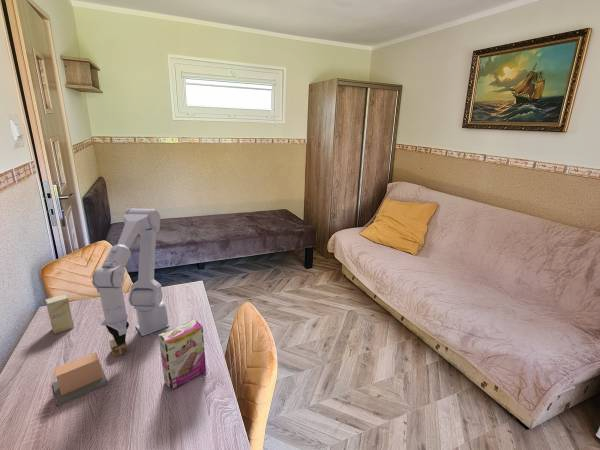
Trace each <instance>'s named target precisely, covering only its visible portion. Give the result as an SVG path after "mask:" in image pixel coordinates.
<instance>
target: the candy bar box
mask: <svg viewBox="0 0 600 450" xmlns="http://www.w3.org/2000/svg"><path fill="white" fill-rule="evenodd" d="M203 327H204V326H203V325H202V324H201V323H199V322H198V321H197V320H196V319H193V320H191V321H188V322H186V323H184V324H182V325H181V324H180V325H179V326H177V327H173V328H171V329H169V330H166V331H164V332H162V333H159V334H158V341H159V348H160V349H159V351H160V357H161V365H162V367H161V368H162V373H163V380H164V383H165V384H166V386H167V387H168V388H169V390H170V392H171V391H174V390H175V389H177V388H179V387H180V386H183V385H184V384H185V383H188V382H190V381H191V380H193V379H195V378H197V377H198V376H200V375H202V374H204V373H206V372H207V368H206V367H207V365H206V355H205V341H204V340H205V339H204V328H203Z"/></svg>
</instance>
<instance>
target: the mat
mask: <svg viewBox="0 0 600 450" xmlns="http://www.w3.org/2000/svg"><path fill="white" fill-rule="evenodd" d="M100 367H101V371H102V376H103V378H101V379H99V380H96V381H94V382H92V383H89V384H87V385H85V386H83V387H80V388H78V389H76V390H73V391H71V392H69V393H66V394H64V395H62V396H61V392H60V389H59V385H58V381H57V380H56V381H54V382H52V386H53V391H54V397H55V401H56V407H60V406H62V405H64V404H66V403H68V402H71V401H73V400H75V399H78V398H80V397H82V396H84V395H86V394H89V393H92V392H93V391H95V390H98V389H101V388H102V387H105V386H107V385H109V381H108V378H107V377H106V374H105V371H104V369H103V367H102V364H101V363H100Z"/></svg>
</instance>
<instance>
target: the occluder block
mask: <svg viewBox="0 0 600 450" xmlns="http://www.w3.org/2000/svg"><path fill="white" fill-rule="evenodd" d="M100 364H101V363H100V358H99V355H98V353H97V351H96V352H93V353H91V354H87V355H85V356H82V357H79V358H77V359H74V360H72V361H70V362H67V363H64V364H62V365H58V366H57V367H54V373H55V378H56V382H57V381H58V385H59V389H60V392H61V396H62V395H64V394H66V393H69V392H71V391H73V390H76V389H78V388H80V387H83V386H85V385H87V384H89V383H92V382H94V381H96V380H99V379H101V378H103V376H102V371H101V367H100Z"/></svg>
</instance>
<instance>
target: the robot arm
mask: <svg viewBox="0 0 600 450" xmlns="http://www.w3.org/2000/svg"><path fill="white" fill-rule="evenodd" d="M123 223H124V226H123V229H122V231H121V233H120V237H119V239H118V242H117V244H116V245H113V246H111V248H110V250H109V252H108V254H107V256H106V257H105V259H104V261H103V263H102V265H101V266H100V267H99V268H97V269H95V270H94V271H93V274H92V281H91V283H92V286H93V287H94V288H95V289H96V292H97V293H98V294H99V298H100V303H101V307H102V312H103V316H104V319H103V320H100V325H101V326H102V327H103V326H105V328H106V329H107V331H108V333H110V335H112V337H113V339H114V340H115V342H116V344H117V345H118V346H119V345H121V344H124V343H125V341H126V339H127V338H126V337H127V334H128V328H130V327H129V326H130V323H129V322H128V317H129V316H128V313H127V309H126V305H125V304H126V303H125V298H124V293H123V287H122V285H123V283H124V281H125V275H126V269H125V268H126V266H127V264H128V261H129V259H130V257H131V255H132V253H131V250H130V248H131V246H132V245H133V243H134V241H135V240H136V238H137V236H138V235H139V236H140V237H139V255H138V256H139V258H138V273H137V274H138V275H137V276H138V277H137V278H138V279H137V280H136V281H135V282H134V283H132V284H131V286H130V290H129V293H128V297H127V298H128V302H129V303H128V304H129V305H130V306H132V307H133V309H134V310H135V311H136V317H137V323H138V324H136V325H135V328H136V329H137V331H138V332H139V334H140V335H141V336H142V337H145V336H147V335H149V334H153V333H155V332H158V331H160V330H162V329H165V328H167V327H169V326H170V324H169V320H168V311H167V307H166V304H165V303H164V300H163V297H164V296H163V290H162V284H161V283H160V282H158V281H157V280H156V279H155V266H156V265H155V262H156V261H155V260H156V259H155V258H156V243H157V233H159V232H160V228H161V215H160V213H159V211H158V209H157V208H132V207H128V208H127V209H126V210H125V211H124V214H123Z"/></svg>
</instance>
